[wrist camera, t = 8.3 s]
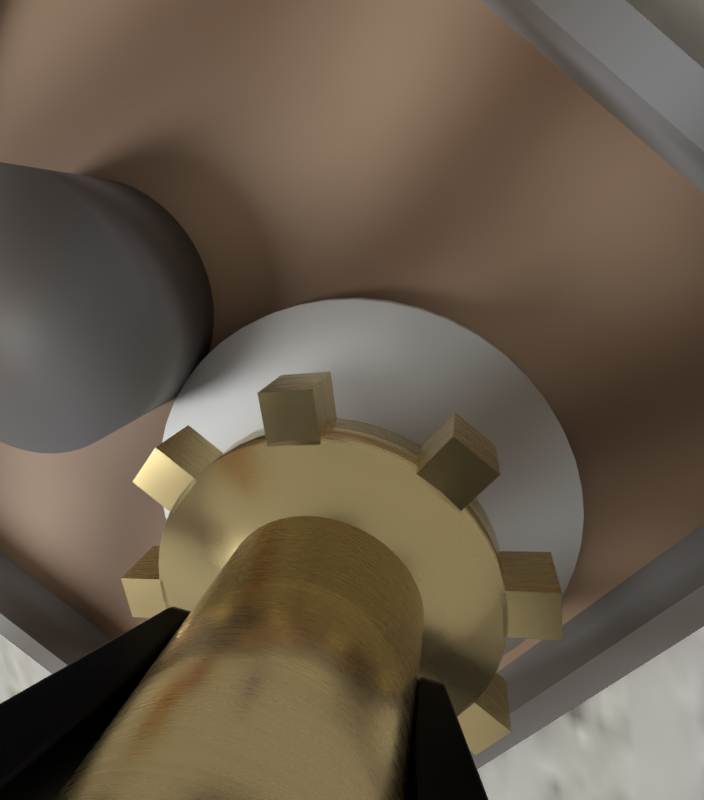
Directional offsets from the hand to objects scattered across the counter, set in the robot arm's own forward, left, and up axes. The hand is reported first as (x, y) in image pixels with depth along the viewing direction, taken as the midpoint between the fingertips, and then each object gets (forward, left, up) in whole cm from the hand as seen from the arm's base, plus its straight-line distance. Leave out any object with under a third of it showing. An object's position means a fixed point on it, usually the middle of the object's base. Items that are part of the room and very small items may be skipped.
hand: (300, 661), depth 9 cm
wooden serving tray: (+4, 0, -7) cm, 8 cm away
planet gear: (0, 0, -2) cm, 2 cm away
